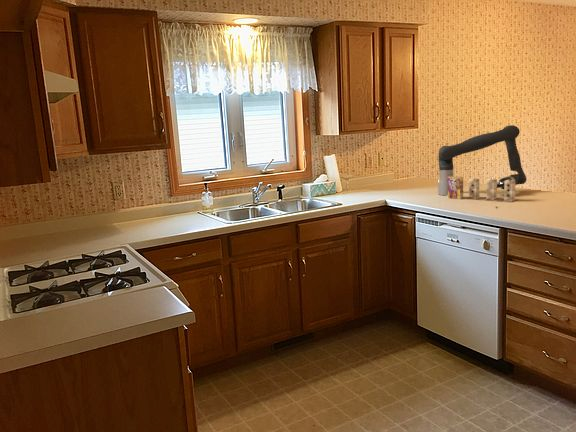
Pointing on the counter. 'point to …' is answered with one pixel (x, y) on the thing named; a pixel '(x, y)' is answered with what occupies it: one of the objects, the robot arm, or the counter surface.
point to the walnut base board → (491, 200)
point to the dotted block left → (474, 188)
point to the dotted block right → (509, 190)
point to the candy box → (455, 187)
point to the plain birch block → (491, 189)
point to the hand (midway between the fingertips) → (495, 186)
